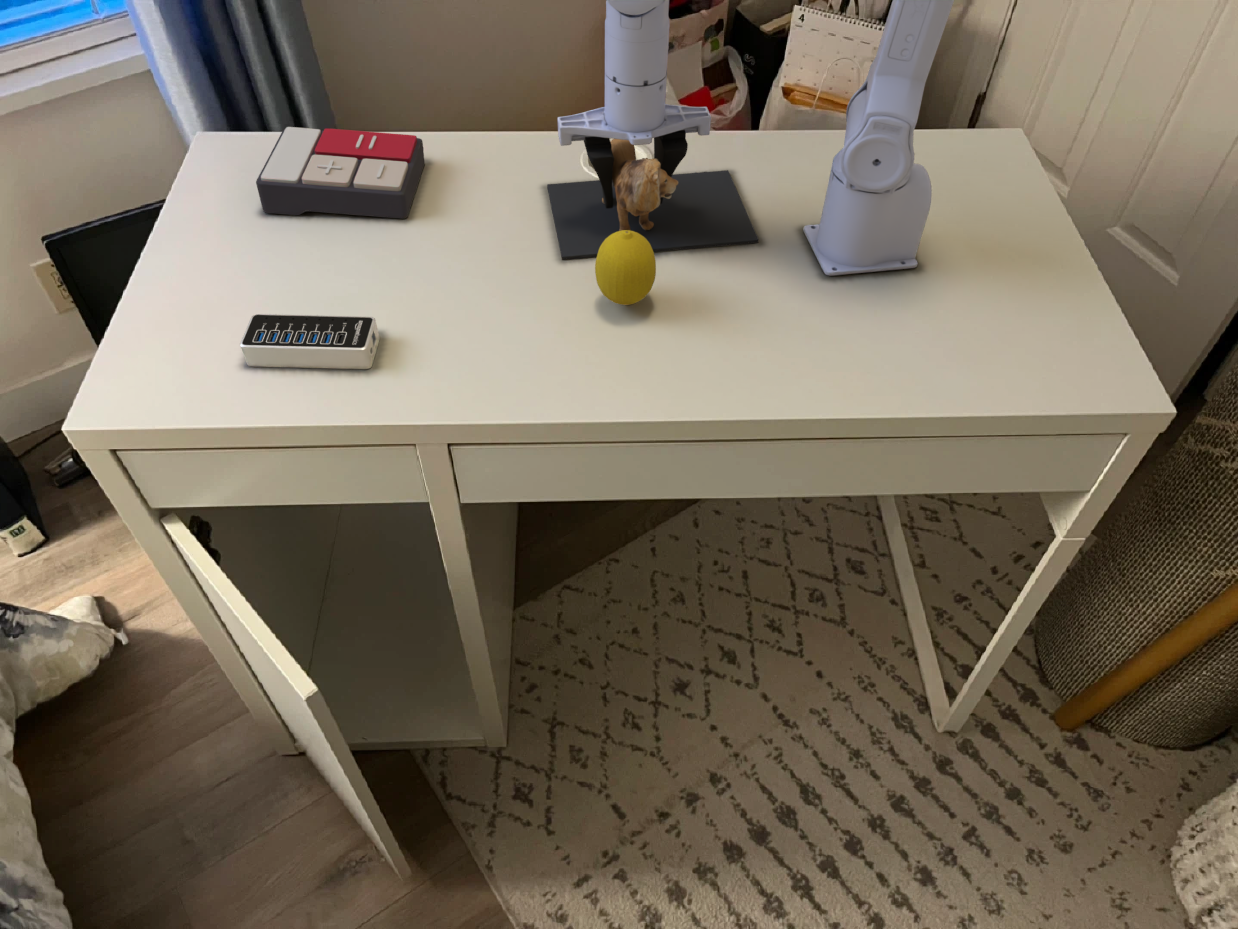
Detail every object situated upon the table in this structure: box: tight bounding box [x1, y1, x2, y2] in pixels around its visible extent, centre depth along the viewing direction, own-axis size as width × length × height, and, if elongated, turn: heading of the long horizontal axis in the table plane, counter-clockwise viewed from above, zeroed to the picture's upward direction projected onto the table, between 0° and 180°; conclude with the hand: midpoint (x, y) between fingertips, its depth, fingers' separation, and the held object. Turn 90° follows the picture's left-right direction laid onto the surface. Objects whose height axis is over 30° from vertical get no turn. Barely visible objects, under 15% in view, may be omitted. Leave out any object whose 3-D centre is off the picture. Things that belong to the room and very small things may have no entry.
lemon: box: [594, 230, 657, 306], centre depth 86 cm, size 6×6×8 cm
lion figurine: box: [602, 139, 678, 231], centre depth 94 cm, size 15×5×9 cm, turn 22°
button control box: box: [255, 126, 425, 219], centre depth 99 cm, size 11×4×15 cm
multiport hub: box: [239, 313, 380, 370], centre depth 83 cm, size 4×11×2 cm, turn 89°
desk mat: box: [546, 169, 760, 261], centre depth 98 cm, size 20×13×1 cm, turn 99°
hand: (632, 200), depth 96 cm, fingers closed on lion figurine, 4 cm apart
